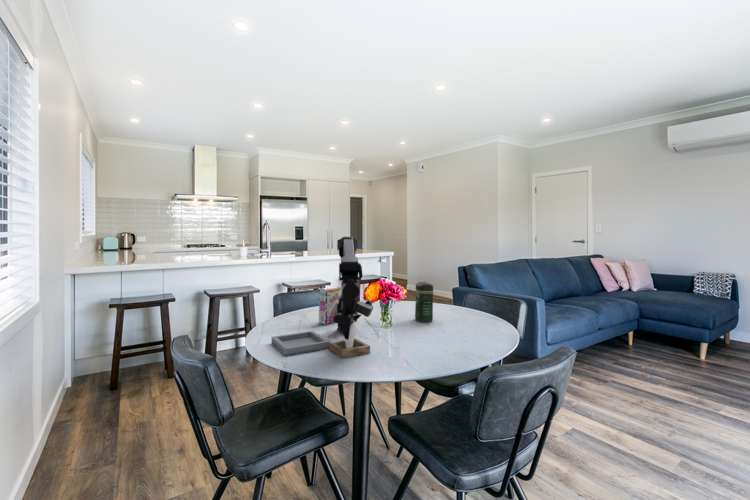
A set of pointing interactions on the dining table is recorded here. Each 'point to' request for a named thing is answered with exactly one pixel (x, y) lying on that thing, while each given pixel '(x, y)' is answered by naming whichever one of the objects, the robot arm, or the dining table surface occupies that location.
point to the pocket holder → (358, 350)
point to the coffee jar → (424, 302)
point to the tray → (300, 342)
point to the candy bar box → (328, 304)
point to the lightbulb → (351, 335)
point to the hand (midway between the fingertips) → (349, 336)
